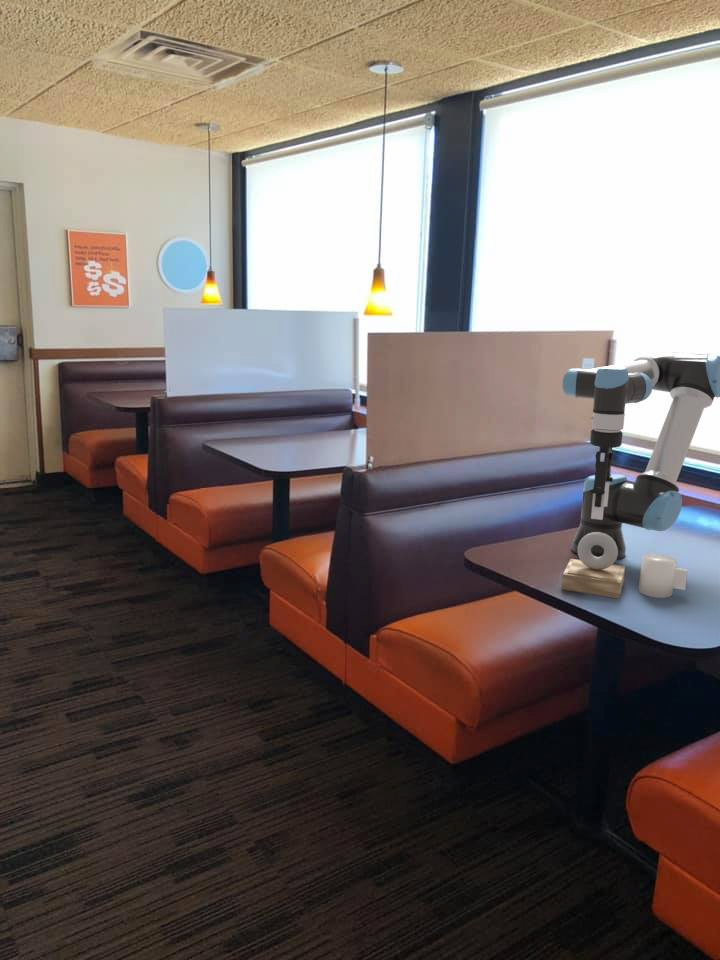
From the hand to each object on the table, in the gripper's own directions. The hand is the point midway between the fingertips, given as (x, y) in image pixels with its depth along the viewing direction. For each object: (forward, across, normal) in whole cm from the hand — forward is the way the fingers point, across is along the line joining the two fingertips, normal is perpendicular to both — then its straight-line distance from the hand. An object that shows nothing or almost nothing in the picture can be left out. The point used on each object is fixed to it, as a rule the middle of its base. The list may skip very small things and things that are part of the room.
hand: (599, 512), depth 194 cm
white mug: (+19, -1, +17) cm, 26 cm away
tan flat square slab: (+19, +1, 0) cm, 19 cm away
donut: (+15, +1, 0) cm, 15 cm away
